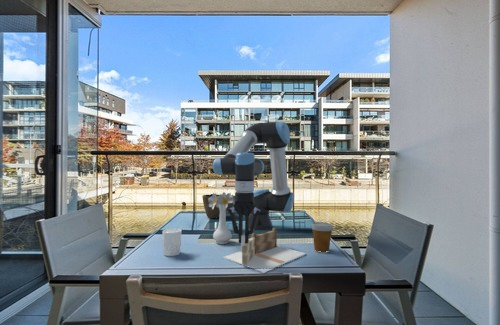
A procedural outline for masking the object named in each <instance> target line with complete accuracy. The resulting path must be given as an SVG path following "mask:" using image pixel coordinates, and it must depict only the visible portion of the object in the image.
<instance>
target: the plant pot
mask: <svg viewBox="0 0 500 325" xmlns="http://www.w3.org/2000/svg"><path fill="white" fill-rule="evenodd" d="M212 195H213V193H212V194H203V195H202V196H201V197H202V203H203V207H204V212H205V214H206V217H207V219H209V218H216V217H218V218H220V210H219V208H218V207H216V205H215V207H214V209H213V210H212V208H211V207H209V206H208V205H209V203H210V202H208V201H209V200H208V198H210V197H211V196H212ZM219 195H220V194H217V193H216V196H219ZM216 219H217V218H216Z"/></svg>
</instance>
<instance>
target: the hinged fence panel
mask: <svg viewBox="0 0 500 325" xmlns="http://www.w3.org/2000/svg"><path fill="white" fill-rule="evenodd" d="M254 254H255V237H252V236H251V237H249V241H248V243H245V244H244V245H243V246H242V265H241V266H243V265H246V264H247V263H248V262H249V260H250V259H251V258H252V257H253V255H254Z"/></svg>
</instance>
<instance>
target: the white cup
mask: <svg viewBox="0 0 500 325" xmlns="http://www.w3.org/2000/svg"><path fill="white" fill-rule="evenodd" d="M182 232H183V231H182V229H180V228H166V229H163V230H162V248H163V255H164V256H166V257H176V256H178V255H180V253H181V247H182V246H181V245H182Z"/></svg>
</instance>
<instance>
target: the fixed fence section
mask: <svg viewBox="0 0 500 325" xmlns="http://www.w3.org/2000/svg"><path fill="white" fill-rule="evenodd" d="M277 235H278V228H277V227H273V228H272V230H270V231H267V232H263V233H261V234H259V233H258V234H257V233H255V232H253V233H252V234H251V237H255V254H256V253H259V252H261V251H264V250H267V249H270V248H273V247H276V246H278V242H277V240H278V236H277Z"/></svg>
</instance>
